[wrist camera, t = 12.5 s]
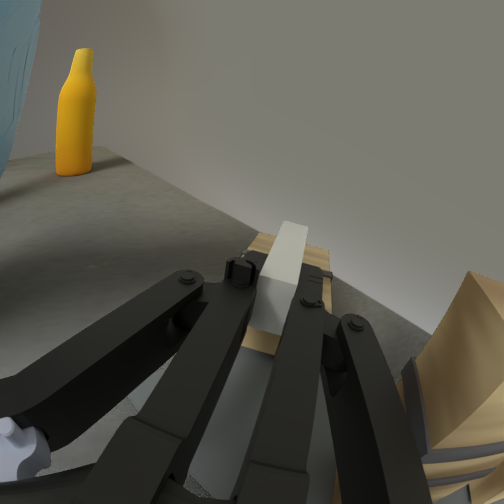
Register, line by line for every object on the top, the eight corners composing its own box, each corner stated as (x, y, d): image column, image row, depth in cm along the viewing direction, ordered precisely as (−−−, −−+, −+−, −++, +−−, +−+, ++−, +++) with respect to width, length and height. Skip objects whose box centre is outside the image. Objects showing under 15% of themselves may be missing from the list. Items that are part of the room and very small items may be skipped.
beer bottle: (98, 171, 55) (111, 47, 41) (63, 179, 47) (74, 45, 34) (83, 165, 58) (93, 54, 45) (51, 172, 51) (60, 53, 38)
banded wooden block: (335, 316, 16) (330, 249, 27) (216, 283, 17) (258, 230, 28) (313, 366, 17) (318, 287, 28) (209, 336, 18) (250, 269, 29)
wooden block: (436, 503, 8) (599, 365, 2) (328, 508, 9) (523, 359, 3) (433, 449, 12) (558, 304, 6) (336, 444, 13) (463, 267, 7)
